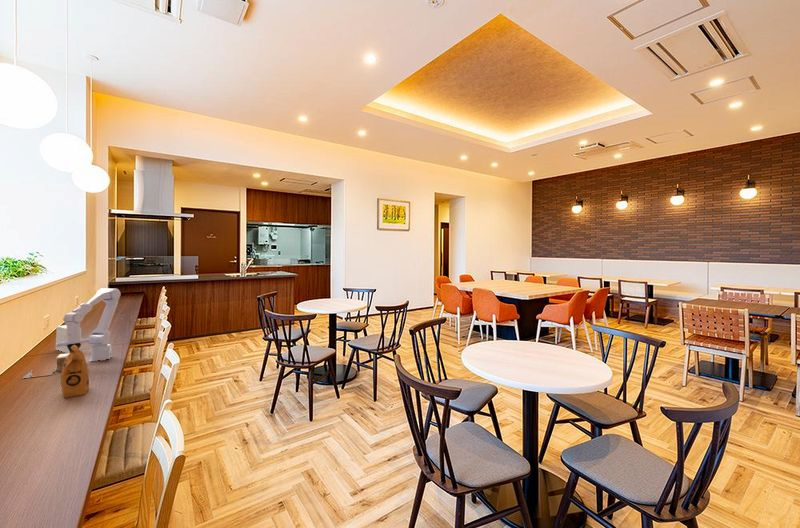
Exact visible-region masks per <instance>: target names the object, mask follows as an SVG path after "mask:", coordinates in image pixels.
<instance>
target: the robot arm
mask: <svg viewBox="0 0 800 528" xmlns="http://www.w3.org/2000/svg"><path fill="white" fill-rule="evenodd" d="M121 293H122V292H121V291H120V290H119V289H118V288H116V287H115V288H108V287H107V288H105V287H101V288H99V289H98V290H96V293H95V295H94V296H92V297H91V298H90V299H89V300H88V301H87V302H82V303H80V304H79V306H77V307H76V308H75V309H72V311H71V312H67V313H66V314H64V317H63V319H62V320H63V322H64V325H66V326H67V341H65V342H60V343H56V342H55V348H56V347H60V346H67V348H68V349H69V351H70V352H71V351H72V349H71V346H73V345H76V346H77V347H78V349H79V348H80V346H81V347H82V344H84V343H87V344H89V346H90V359H89V360H88V362H90V363H91V362H99V361H98V360H100V361H106V359H109V360H110V359H111V358H112V344H111V343H110V341H111V334H112V333H111V332H110V331H109V328H110V325H111V322H112V320H113V317H114V316H115V315H114V314H115V312H116V311H117V310H116V309H117V307H118V304H119V300H120V298H121ZM101 301H102V302H104V303H105V306H104V309H103V311H102V314H101V317H100V318H99V322H98V324H97V327H96V328H95V329H93V330H92V331H91V333H90V334H89V335H88V337H87V338H81V339H80V329H81V322H83V320H84V318H85V315H87V314H88V313H90V312H91V311H92V309H93V306H95V305H97V304H98V303H99V302H101ZM80 343H81V344H80ZM110 357H111V358H110Z"/></svg>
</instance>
